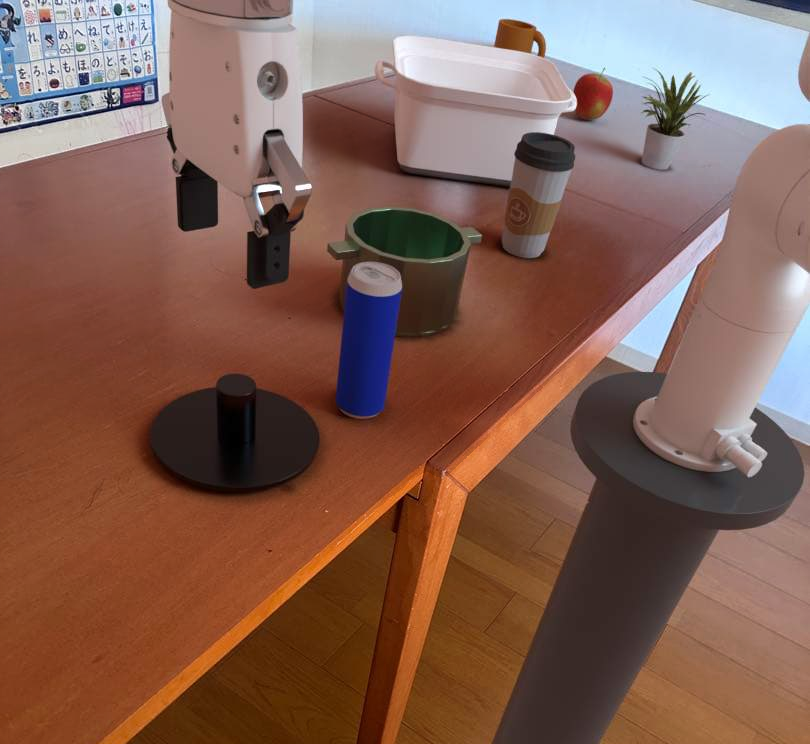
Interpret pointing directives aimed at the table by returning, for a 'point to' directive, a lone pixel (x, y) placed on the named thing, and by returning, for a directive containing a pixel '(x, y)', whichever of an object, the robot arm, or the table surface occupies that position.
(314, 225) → the table surface
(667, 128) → the house plant
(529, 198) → the coffee cup
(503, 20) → the mug
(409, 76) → the white storage tub
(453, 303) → the cooker pot
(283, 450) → the lid
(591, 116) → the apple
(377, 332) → the beverage can
